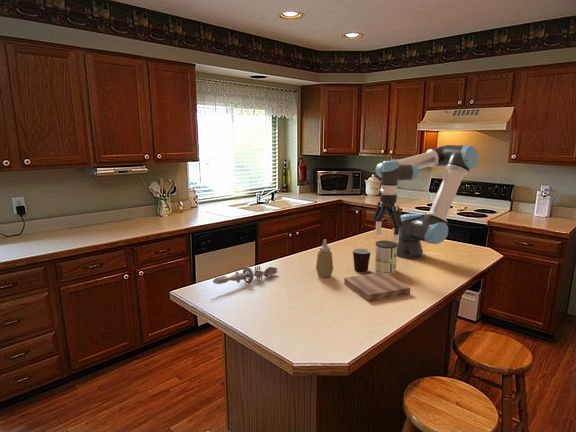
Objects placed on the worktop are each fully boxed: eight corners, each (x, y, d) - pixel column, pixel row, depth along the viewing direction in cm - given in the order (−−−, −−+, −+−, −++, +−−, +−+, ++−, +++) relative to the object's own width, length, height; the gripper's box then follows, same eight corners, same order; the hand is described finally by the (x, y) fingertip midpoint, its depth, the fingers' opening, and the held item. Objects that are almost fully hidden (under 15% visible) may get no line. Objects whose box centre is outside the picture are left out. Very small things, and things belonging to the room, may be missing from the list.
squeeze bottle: (320, 272, 184) (320, 236, 180) (335, 275, 180) (336, 238, 176) (312, 277, 177) (313, 240, 174) (328, 280, 173) (329, 242, 170)
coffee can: (374, 266, 192) (376, 239, 189) (395, 268, 189) (397, 241, 186) (373, 273, 182) (374, 245, 179) (395, 275, 179) (397, 246, 176)
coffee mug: (357, 266, 192) (358, 247, 190) (373, 269, 187) (373, 250, 185) (345, 272, 183) (346, 252, 181) (361, 276, 178) (362, 256, 176)
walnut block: (382, 278, 176) (382, 272, 175) (410, 294, 157) (410, 287, 157) (344, 284, 169) (344, 277, 168) (368, 301, 151) (368, 294, 150)
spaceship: (207, 273, 161) (216, 270, 156) (270, 263, 185) (280, 260, 179) (210, 291, 160) (219, 290, 154) (273, 279, 184) (283, 277, 178)
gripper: (367, 190, 188) (365, 232, 192) (398, 198, 165) (395, 245, 169) (380, 190, 190) (378, 231, 195) (412, 197, 168) (409, 243, 172)
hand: (386, 237), depth 182 cm, fingers open, 13 cm apart
